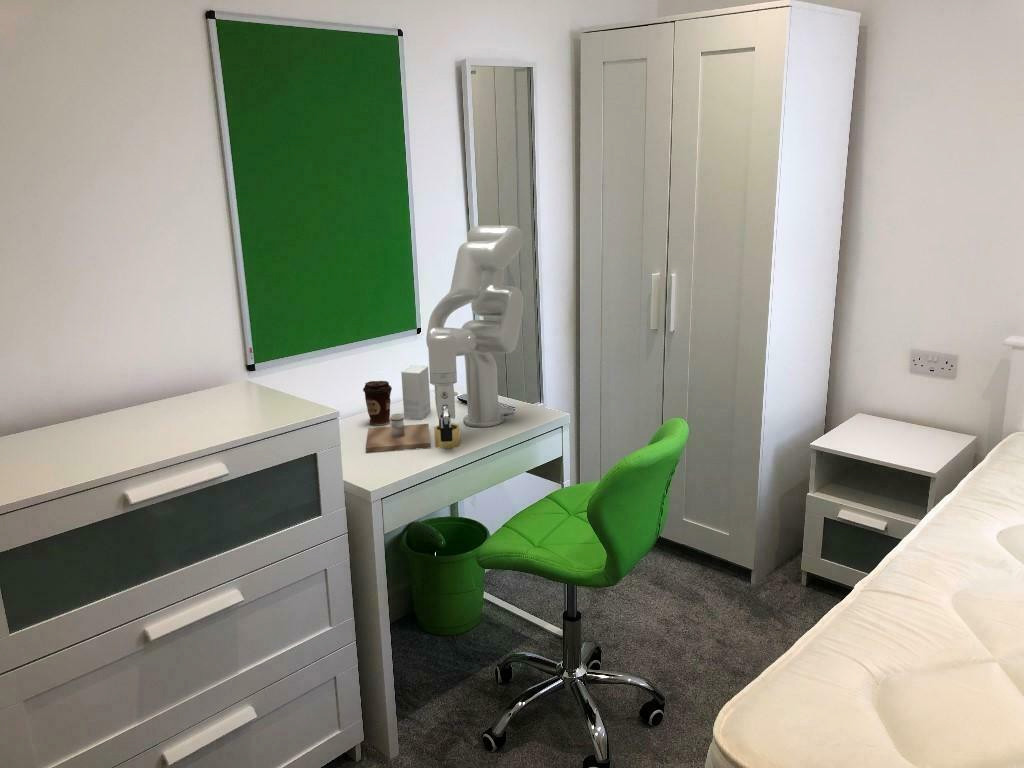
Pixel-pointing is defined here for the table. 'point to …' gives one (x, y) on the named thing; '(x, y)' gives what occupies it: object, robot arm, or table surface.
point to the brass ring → (448, 444)
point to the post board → (397, 443)
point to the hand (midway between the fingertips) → (445, 436)
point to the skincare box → (416, 392)
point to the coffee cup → (378, 401)
